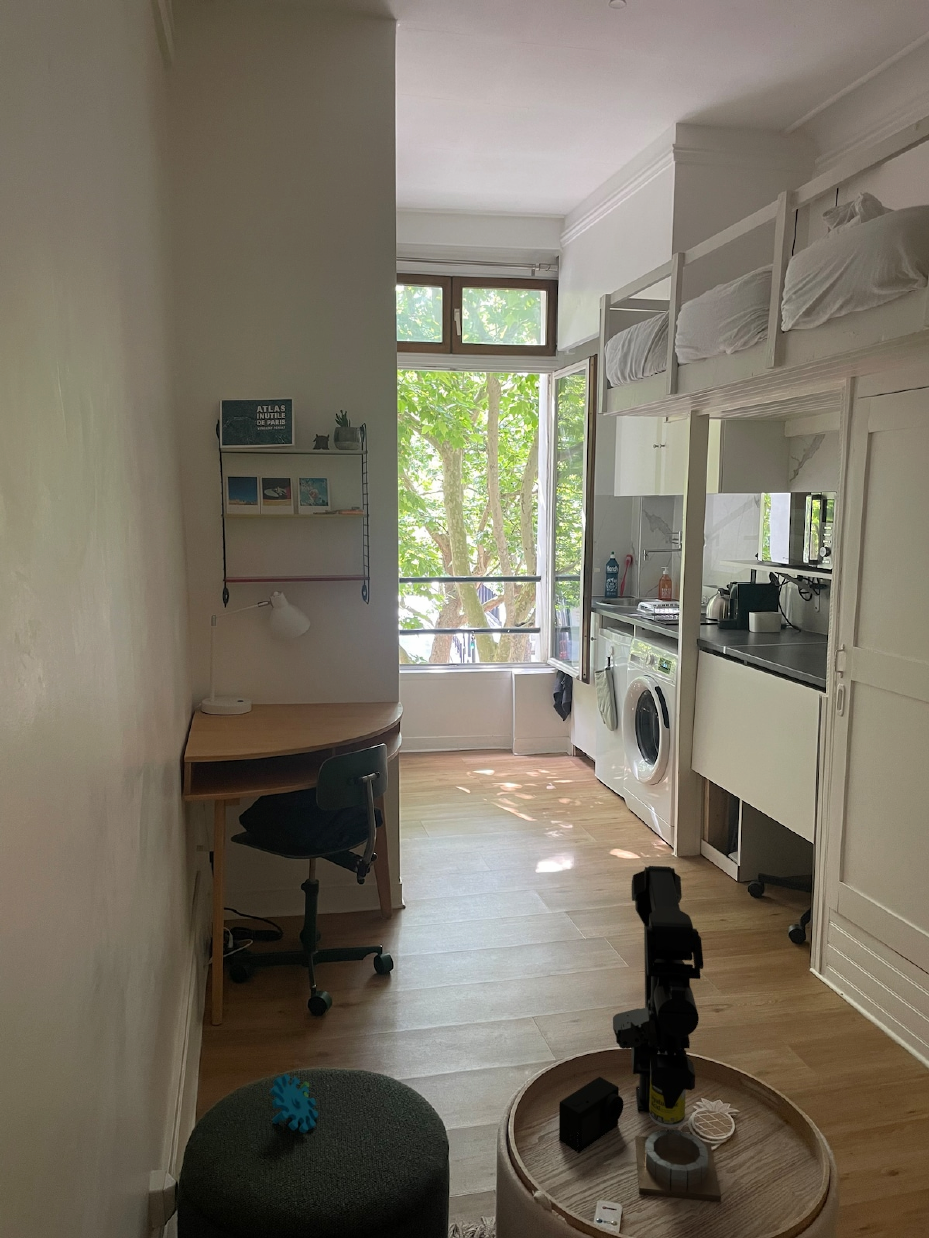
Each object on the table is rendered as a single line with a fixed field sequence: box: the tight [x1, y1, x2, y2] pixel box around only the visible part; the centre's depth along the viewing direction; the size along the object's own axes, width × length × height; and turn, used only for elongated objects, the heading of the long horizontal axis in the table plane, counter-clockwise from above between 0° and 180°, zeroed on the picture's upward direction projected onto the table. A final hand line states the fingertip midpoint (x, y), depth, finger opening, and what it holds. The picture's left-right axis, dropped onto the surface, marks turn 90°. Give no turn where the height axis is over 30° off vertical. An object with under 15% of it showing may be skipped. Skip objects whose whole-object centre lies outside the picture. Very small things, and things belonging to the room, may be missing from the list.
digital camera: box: [558, 1076, 624, 1154], centre depth 149 cm, size 10×5×7 cm, turn 133°
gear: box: [269, 1073, 319, 1134], centre depth 153 cm, size 11×6×10 cm
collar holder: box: [634, 1128, 722, 1203], centre depth 141 cm, size 12×12×4 cm
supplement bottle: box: [648, 1051, 687, 1129], centre depth 139 cm, size 5×5×10 cm
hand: (667, 1096), depth 139 cm, fingers closed on supplement bottle, 5 cm apart
